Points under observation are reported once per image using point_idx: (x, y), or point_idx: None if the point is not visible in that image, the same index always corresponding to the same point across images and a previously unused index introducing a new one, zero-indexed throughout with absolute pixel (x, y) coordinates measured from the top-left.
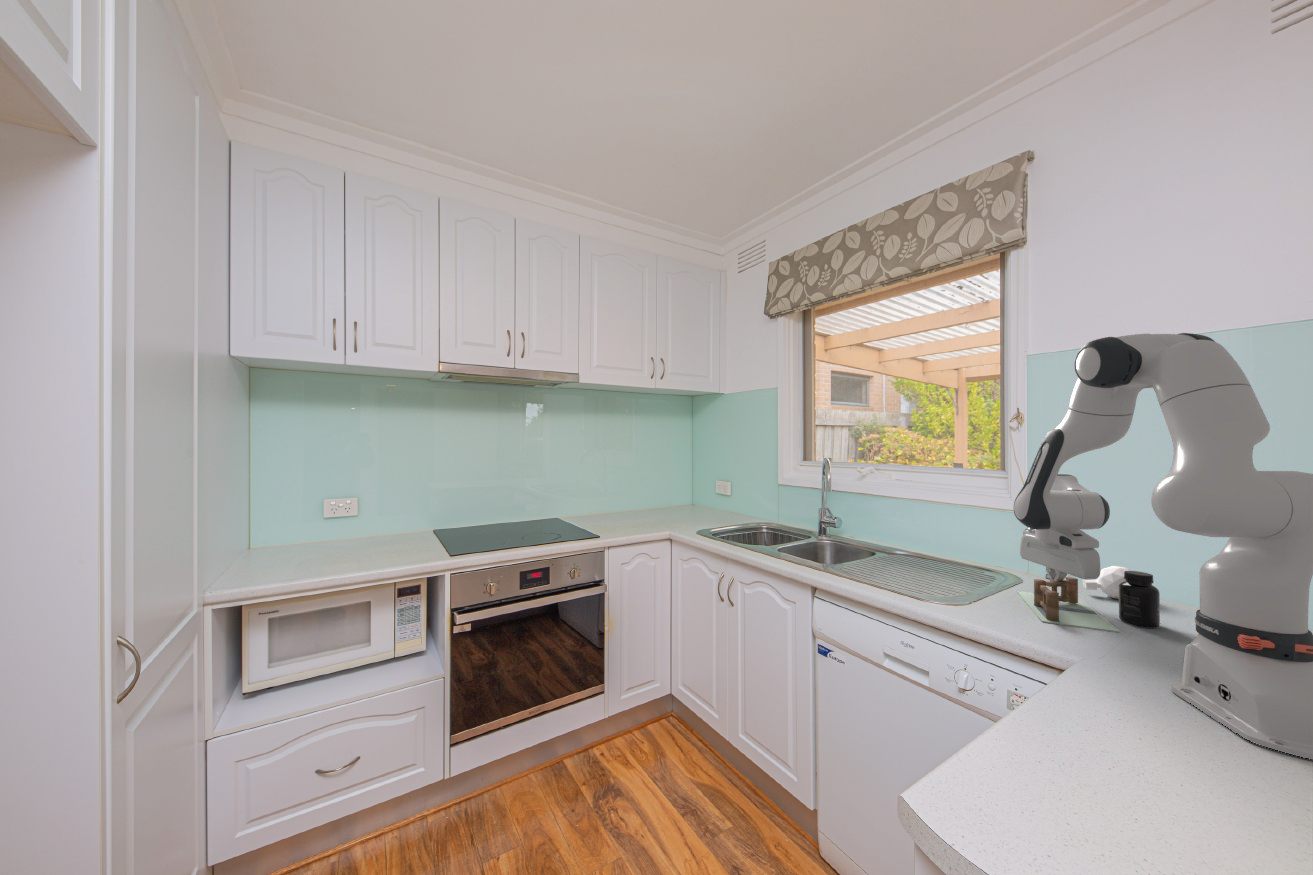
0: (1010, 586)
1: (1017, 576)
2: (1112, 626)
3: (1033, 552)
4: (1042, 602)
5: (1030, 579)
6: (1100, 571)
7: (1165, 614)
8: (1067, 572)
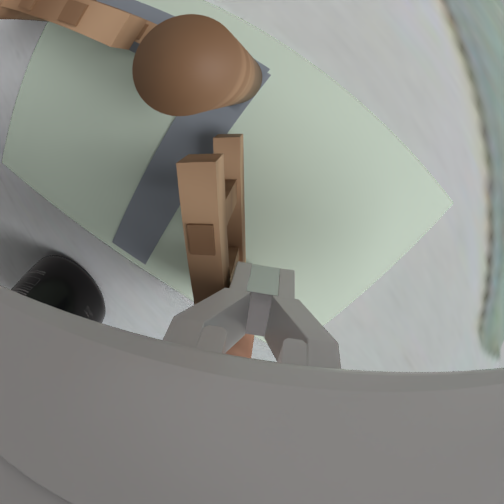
0: (491, 252)
1: (496, 357)
2: (24, 177)
3: (497, 465)
4: (150, 24)
5: (467, 368)
6: None
7: None
8: (40, 310)
